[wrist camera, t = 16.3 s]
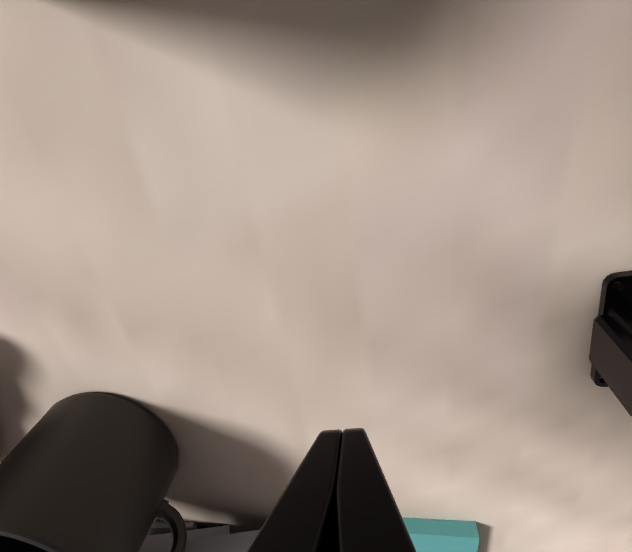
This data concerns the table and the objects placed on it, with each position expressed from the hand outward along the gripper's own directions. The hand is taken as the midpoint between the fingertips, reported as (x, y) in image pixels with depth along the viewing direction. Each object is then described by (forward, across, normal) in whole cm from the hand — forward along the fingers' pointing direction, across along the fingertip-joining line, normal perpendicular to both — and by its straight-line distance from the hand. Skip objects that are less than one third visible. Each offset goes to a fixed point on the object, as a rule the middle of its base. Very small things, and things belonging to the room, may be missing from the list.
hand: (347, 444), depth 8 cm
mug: (+13, +18, +14) cm, 27 cm away
